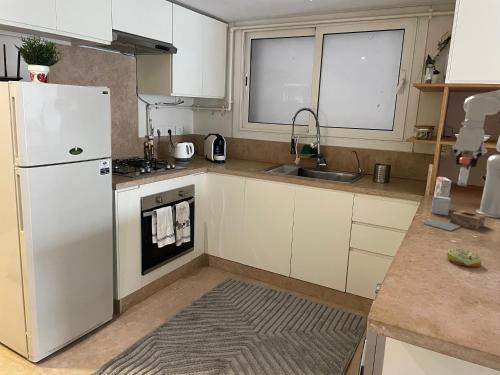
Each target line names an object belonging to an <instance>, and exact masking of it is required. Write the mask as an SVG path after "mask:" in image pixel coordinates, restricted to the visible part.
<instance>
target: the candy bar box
mask: <svg viewBox="0 0 500 375" xmlns="http://www.w3.org/2000/svg"><path fill="white" fill-rule="evenodd" d="M435 180H436V182H435V187H434V193H433V194H434V195H433V197H434V196H441V197H448V198H450V195H451V190H452V189H451V188H452V183H453V182H452V180H450V179H449V178H447V177H444V176H437V177H436V179H435Z"/></svg>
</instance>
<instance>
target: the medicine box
mask: <svg viewBox="0 0 500 375" xmlns="http://www.w3.org/2000/svg"><path fill="white" fill-rule="evenodd" d="M451 201H452V200H451V197H449V198H448V197H441V196H434V195H433V198H432V203H431V208H430V209H431V210H430V213H431V214H435V215H442V216H449V211H450V207H451Z"/></svg>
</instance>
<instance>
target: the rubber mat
mask: <svg viewBox="0 0 500 375" xmlns="http://www.w3.org/2000/svg"><path fill="white" fill-rule="evenodd" d="M423 225H425V226H429V227H433V228H437V229H440V230H443V231H447V232H452V231H455V230H457V229H460V228H462V226H460V225H456V224H452V223H450V222H447V221H444V220H440V219H436V218H434V219H431V220H428V221H425V222H423Z"/></svg>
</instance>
